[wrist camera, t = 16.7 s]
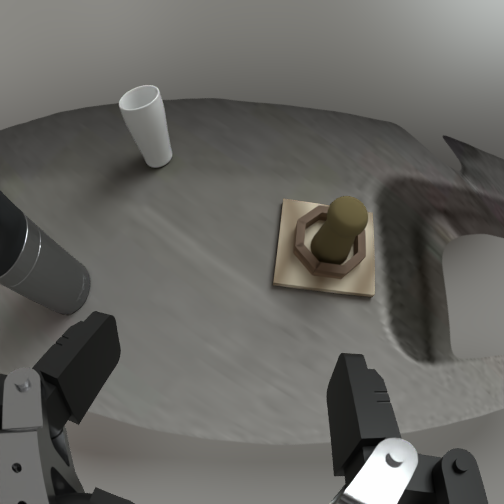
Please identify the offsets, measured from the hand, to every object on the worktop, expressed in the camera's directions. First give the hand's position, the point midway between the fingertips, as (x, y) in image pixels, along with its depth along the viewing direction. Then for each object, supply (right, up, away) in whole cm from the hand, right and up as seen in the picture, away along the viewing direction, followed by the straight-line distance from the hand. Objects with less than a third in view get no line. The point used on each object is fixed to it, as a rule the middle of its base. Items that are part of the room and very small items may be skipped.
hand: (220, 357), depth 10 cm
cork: (+13, +4, +34) cm, 37 cm away
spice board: (+13, +4, +35) cm, 38 cm away
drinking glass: (-16, +21, +43) cm, 50 cm away
